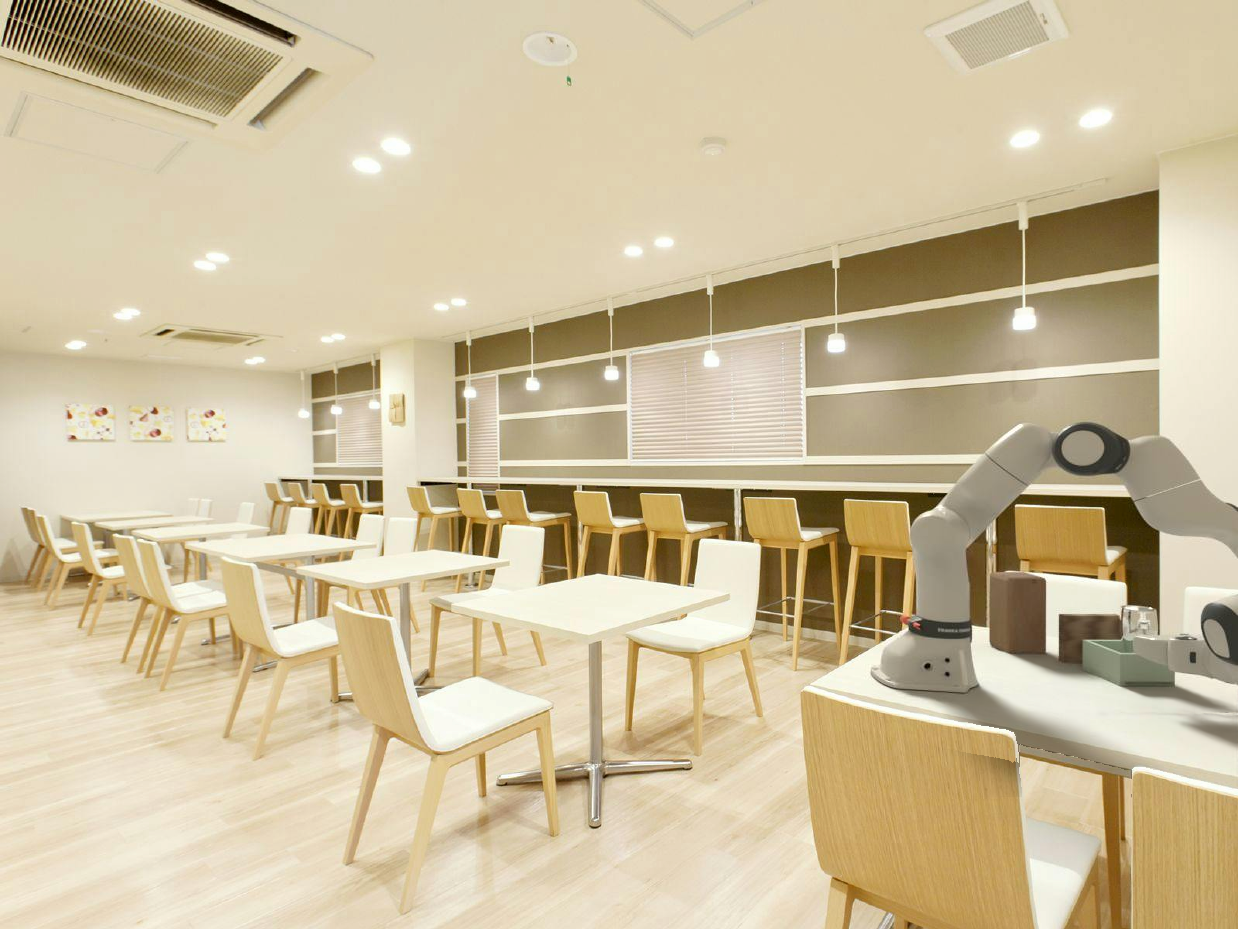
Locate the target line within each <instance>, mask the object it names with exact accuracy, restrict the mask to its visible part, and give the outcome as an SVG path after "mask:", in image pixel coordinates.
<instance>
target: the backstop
mask: <svg viewBox="0 0 1238 929" xmlns="http://www.w3.org/2000/svg"><path fill="white" fill-rule="evenodd" d="M1119 617H1120V614H1116V613H1059V614H1058V661H1059V662H1061V663H1063V664H1083V640H1121V638H1120V632H1119Z"/></svg>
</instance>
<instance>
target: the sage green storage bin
mask: <svg viewBox="0 0 1238 929" xmlns="http://www.w3.org/2000/svg"><path fill="white" fill-rule="evenodd" d="M1082 670H1083V671H1085V672H1088V673H1089V674H1093V675H1095V676H1096V677H1098V678H1101V679H1103V680H1106V681H1107V682H1110V683H1112V684H1114V685H1117V686H1118V687H1175V686H1176V672H1174V671H1171V670H1169V668H1168V666H1167V665H1162V664H1159V663H1156V662H1153V661H1151V660H1148V659H1146V658H1144V657H1141V656H1139V655H1137V654H1136V653H1123V648H1122V643H1121V640H1083V663H1082Z"/></svg>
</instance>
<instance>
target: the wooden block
mask: <svg viewBox="0 0 1238 929" xmlns="http://www.w3.org/2000/svg"><path fill="white" fill-rule="evenodd" d="M988 596H989V604H988V605H989V609H988V610H989V615H988V617H989V621H988V622H989V629H988V630H989V631H988V632H989V638H988V639H989V641H988V642H989V644H990V646H993V647H994V648H996V649H998V650H1000V651H1002V652H1005V653H1007V654H1011V655H1012V654H1017V655H1019V654H1020V655H1021V654H1026V655H1027V654H1033V655H1035V654H1037V655H1038V654H1039V655H1041V654H1046V653H1047V580H1046V578H1044V577H1043V576H1039V575H1034V574H1032V573H1028V572H1024V571H1000V572H999V571H993V572H989V595H988Z"/></svg>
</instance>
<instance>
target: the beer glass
mask: <svg viewBox="0 0 1238 929" xmlns="http://www.w3.org/2000/svg"><path fill="white" fill-rule="evenodd" d="M1119 609H1120V610H1119V615H1120V617H1119V632H1120V638H1121V643H1122V648H1123V653H1135V652H1134V650H1133V638H1134V636H1135V635H1136V634H1145V635H1159V634H1158V632H1159V631H1158V630H1159V624H1158V613H1157V608H1153V607H1148V606H1143V605H1133V604H1131V605H1130V604H1128V605H1127V604H1125V605H1124V604H1123V605H1120V608H1119Z"/></svg>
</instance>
